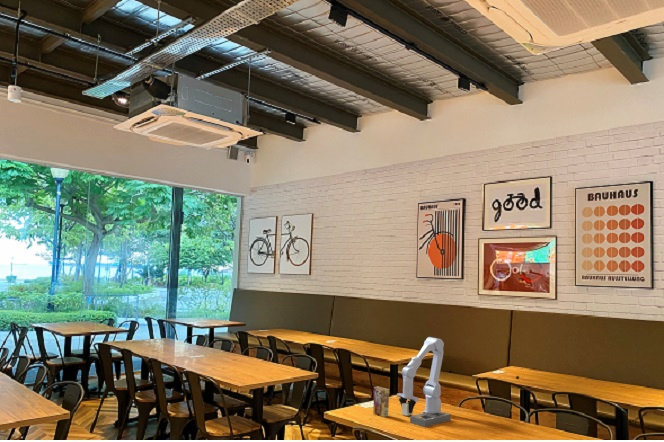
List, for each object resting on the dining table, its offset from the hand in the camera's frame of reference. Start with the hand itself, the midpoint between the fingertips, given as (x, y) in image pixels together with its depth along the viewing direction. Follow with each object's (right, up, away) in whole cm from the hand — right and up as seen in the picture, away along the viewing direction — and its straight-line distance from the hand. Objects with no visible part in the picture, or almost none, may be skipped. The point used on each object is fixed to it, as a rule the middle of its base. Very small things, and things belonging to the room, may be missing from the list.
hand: (407, 411), depth 301 cm
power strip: (+11, -1, -11) cm, 16 cm away
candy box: (-16, -1, -2) cm, 16 cm away
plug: (0, -2, 0) cm, 2 cm away
